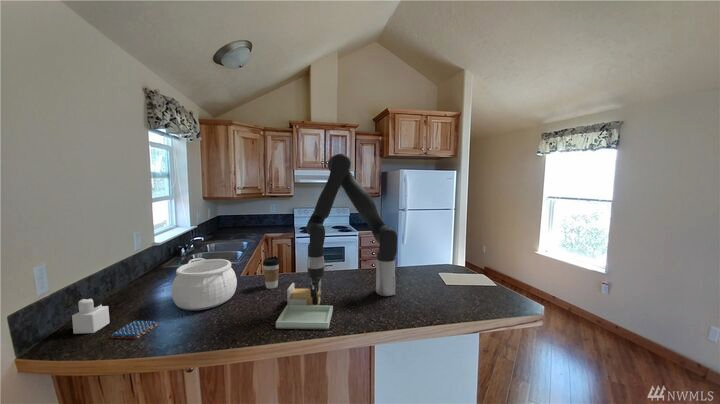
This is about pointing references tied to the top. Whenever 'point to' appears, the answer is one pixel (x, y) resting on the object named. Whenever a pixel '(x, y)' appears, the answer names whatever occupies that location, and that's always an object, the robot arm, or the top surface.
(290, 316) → the tray
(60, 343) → the top surface
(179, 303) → the pot
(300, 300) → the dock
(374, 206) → the robot arm
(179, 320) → the top surface
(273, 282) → the coffee cup
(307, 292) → the box with top handle
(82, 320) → the white knobbed block
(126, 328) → the woven mat
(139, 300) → the top surface
